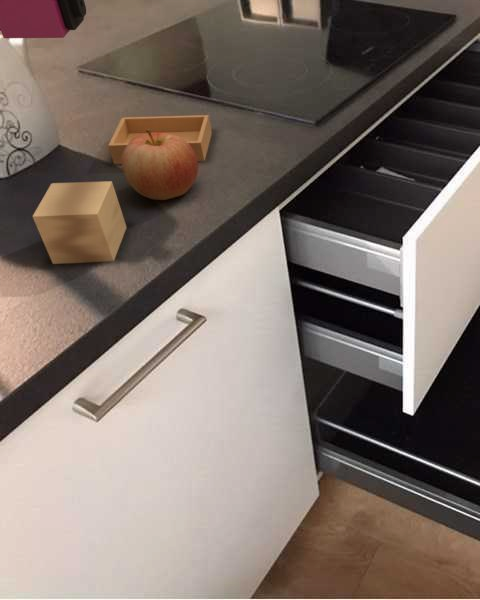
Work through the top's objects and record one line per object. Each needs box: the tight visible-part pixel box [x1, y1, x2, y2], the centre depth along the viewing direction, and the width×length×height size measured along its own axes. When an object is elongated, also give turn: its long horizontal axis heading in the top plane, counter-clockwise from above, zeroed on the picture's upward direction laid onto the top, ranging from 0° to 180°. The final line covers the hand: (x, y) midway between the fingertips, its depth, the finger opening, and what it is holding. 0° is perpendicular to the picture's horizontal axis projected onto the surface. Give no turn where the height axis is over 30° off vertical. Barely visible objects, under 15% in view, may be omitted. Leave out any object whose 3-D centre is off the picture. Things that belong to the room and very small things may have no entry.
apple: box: [121, 129, 199, 201], centre depth 74 cm, size 8×8×8 cm
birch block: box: [32, 180, 127, 265], centre depth 67 cm, size 6×6×6 cm
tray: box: [107, 114, 213, 165], centre depth 83 cm, size 11×8×3 cm
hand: (41, 22), depth 58 cm, fingers closed on pink block, 5 cm apart
